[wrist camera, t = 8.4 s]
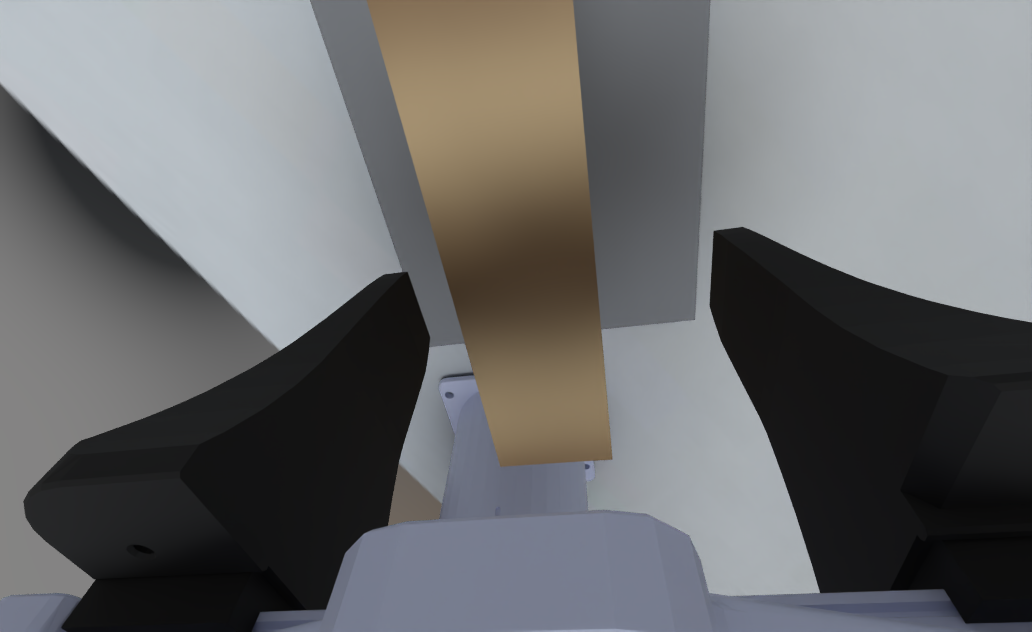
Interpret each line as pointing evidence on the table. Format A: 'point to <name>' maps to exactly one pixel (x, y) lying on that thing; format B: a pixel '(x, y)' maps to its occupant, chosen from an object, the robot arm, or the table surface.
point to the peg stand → (609, 151)
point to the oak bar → (508, 209)
